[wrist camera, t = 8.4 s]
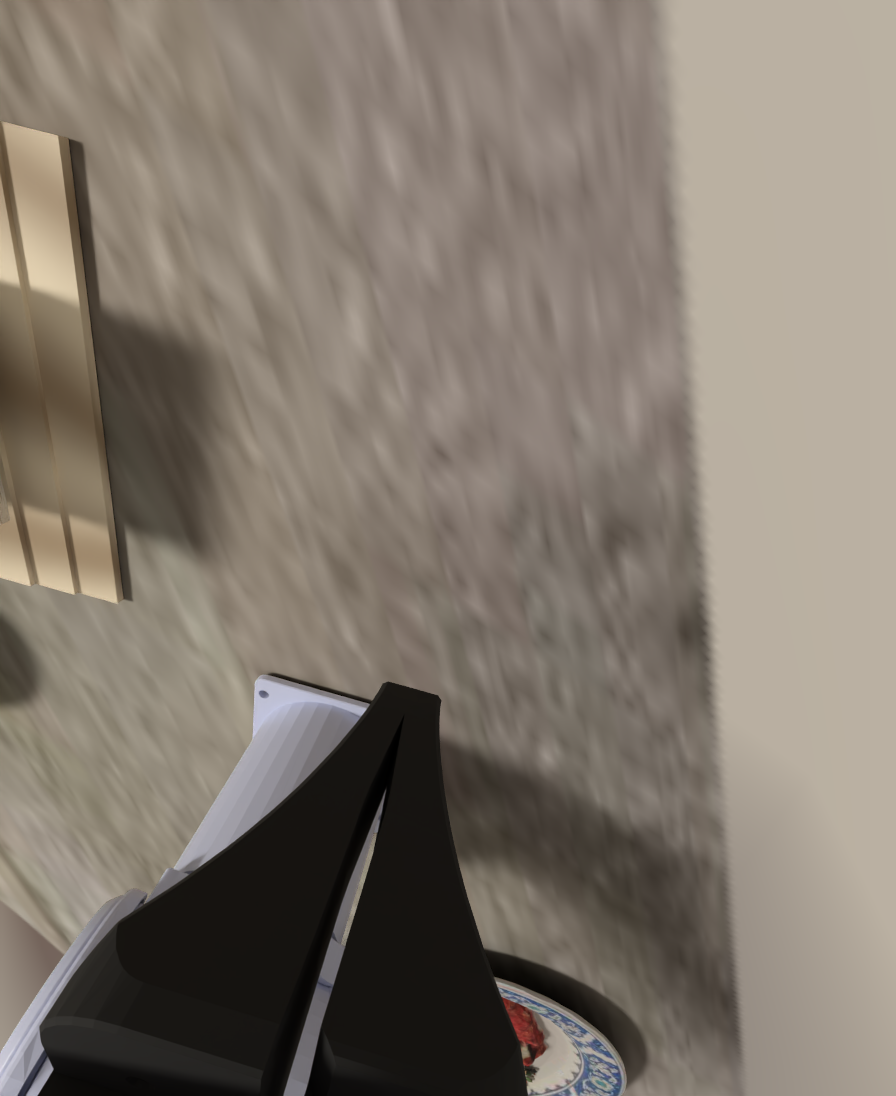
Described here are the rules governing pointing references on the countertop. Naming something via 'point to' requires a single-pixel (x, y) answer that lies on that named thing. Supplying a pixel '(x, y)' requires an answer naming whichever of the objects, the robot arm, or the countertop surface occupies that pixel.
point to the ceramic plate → (561, 1047)
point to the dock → (49, 381)
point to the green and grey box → (3, 506)
